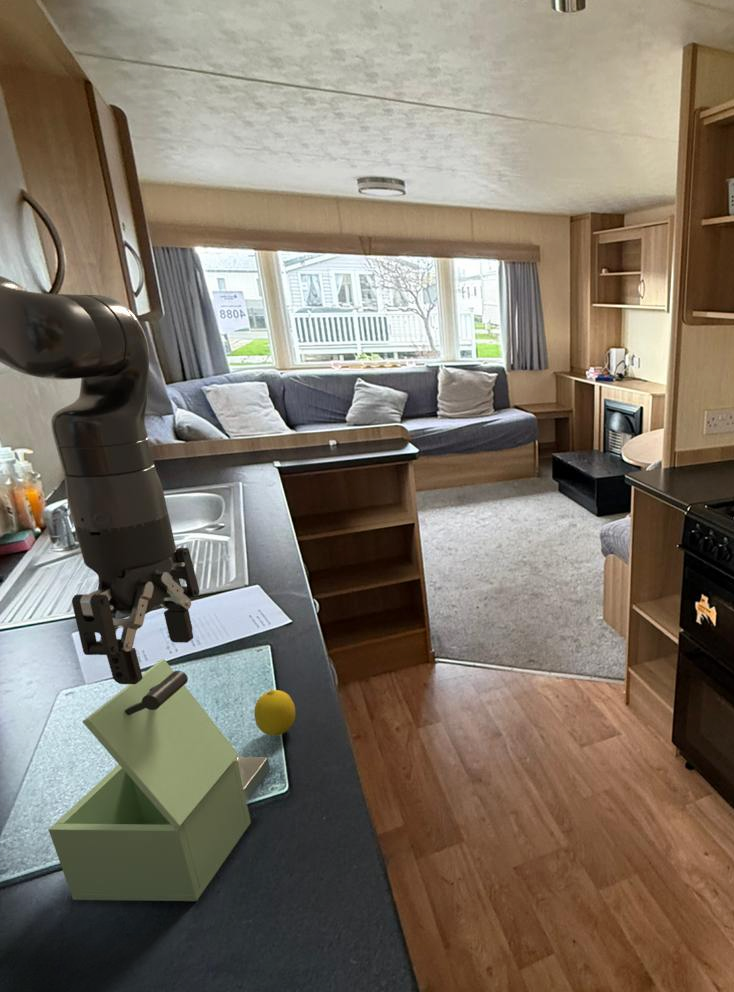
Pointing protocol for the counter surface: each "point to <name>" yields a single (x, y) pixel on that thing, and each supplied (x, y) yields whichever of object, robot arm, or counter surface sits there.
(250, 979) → the counter surface
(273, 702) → the lemon
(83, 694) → the counter surface
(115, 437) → the robot arm
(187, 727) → the lid
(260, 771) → the switch block
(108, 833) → the green lidded box
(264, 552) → the counter surface
